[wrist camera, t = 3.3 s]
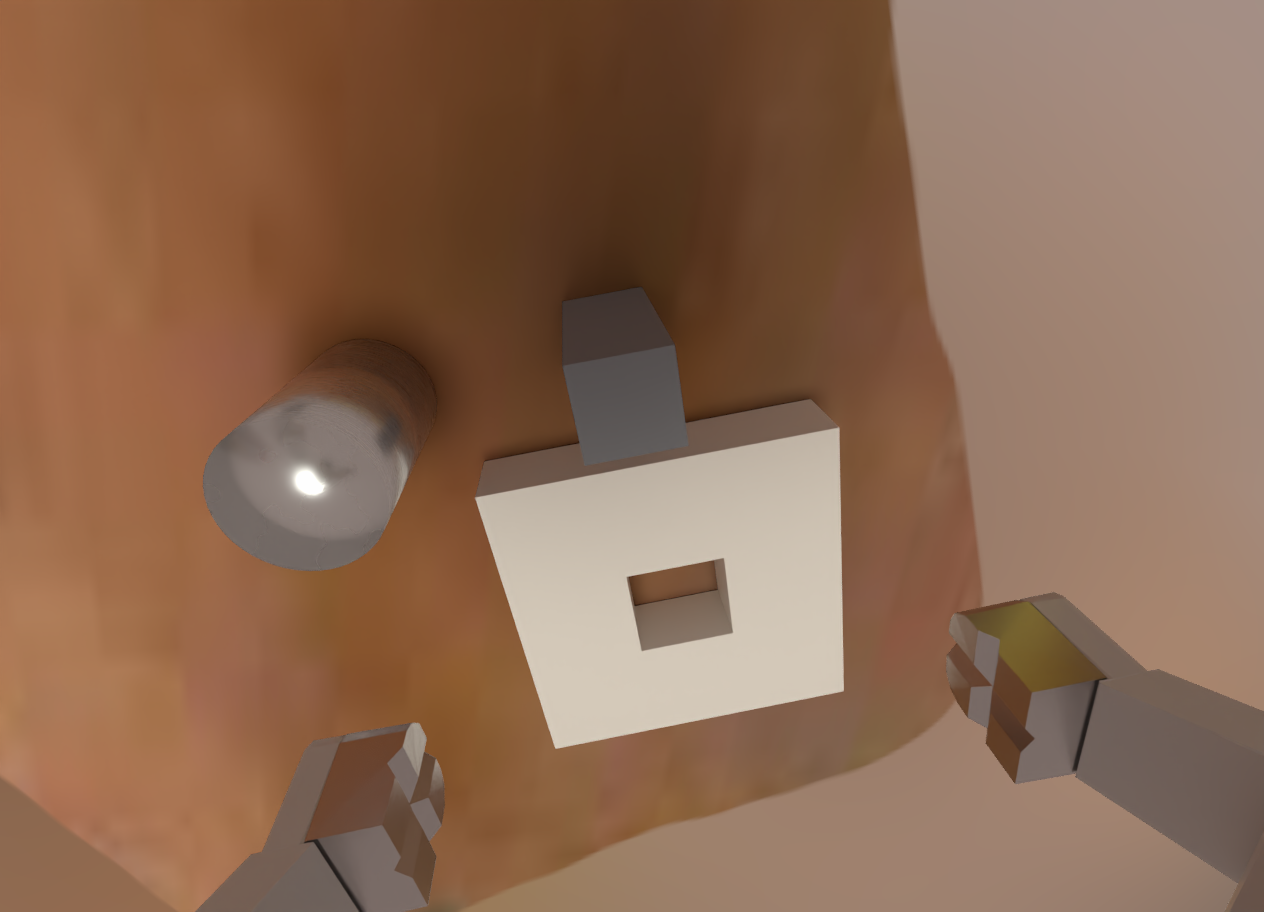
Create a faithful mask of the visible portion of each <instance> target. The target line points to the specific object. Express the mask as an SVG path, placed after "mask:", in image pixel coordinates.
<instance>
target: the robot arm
mask: <svg viewBox="0 0 1264 912" xmlns="http://www.w3.org/2000/svg"><path fill="white" fill-rule="evenodd" d="M949 634H950V635H951V636H952V637H953V639H954V640H955V641H956V642H957V643H956V644H955V646H954V647H953V648H952V649H951V650H950V652H949V653H948V654H947V665H946V672H947V676H948V680H949V684H950V688H951V691H952V693H953V695H954V697H955V699H956V701H957V703H958V704H959V705H960V707H961V709H962V710H963V712H964V713H965V715H966V716H967V717H968V718H969V719H971V720H973V721H975V722H976V723H978V724H980V725H982V726H984V727H986V728H987V735H986V744H987V746H988V747H989V748H990V750H991V751H992V752H993V754H994V755H995V757H996V758H997V760H998V761H999V762H1000V764H1001V765H1002V766H1003V768H1004V769H1005V771H1006V772H1007V773H1008V775H1009V776H1010V778H1011V779H1012V780H1013V782H1014V783H1015V784H1019V783H1024V782H1030V781H1036V780H1041V779H1047V778H1053V777H1059V776H1064V775H1070V774H1075V773H1076V776H1075V777H1076V778H1078V779H1079V780H1081V781H1082V782H1084V783H1086V784H1087V785H1088V786H1090V787H1092V788H1093V789H1095V790H1096V791H1098V792H1099V793H1101V794H1102V795H1104V796H1105V797H1107V798H1108V799H1110V800H1112V801H1113V802H1114V803H1116V804H1118V805H1119V806H1121V807H1122V808H1124V809H1125V810H1127V811H1128V812H1130V813H1132V814H1133V815H1134V816H1136V817H1137V818H1139V819H1141V820H1142V821H1143V822H1145V823H1146V824H1148V825H1150V826H1151V827H1153V828H1154V829H1156V830H1157V831H1159V832H1160V833H1162V834H1163V835H1165V836H1166V837H1168V838H1169V839H1171V840H1173V841H1174V842H1175V843H1177V844H1179V845H1180V846H1182V847H1183V848H1185V849H1186V850H1188V851H1189V852H1191V853H1192V854H1194V855H1195V856H1197V857H1199V858H1200V859H1201V860H1203V861H1204V862H1206V863H1208V864H1209V865H1211V866H1212V867H1214V868H1215V869H1217V870H1218V871H1220V872H1221V873H1223V874H1224V875H1226V876H1228V877H1229V878H1230V879H1232V880H1233V881H1235V882H1237V883H1238V885H1237V887H1236V889H1235V891H1234V893H1233V895H1232V897H1231V899H1230V901H1229V903H1228V905H1227V907H1226V910H1225V912H1264V711H1262V710H1259V709H1256V708H1254V707H1252V706H1249V705H1247V704H1244V703H1242V702H1239V701H1237V700H1234V699H1231V698H1229V697H1227V696H1224V695H1222V694H1219V693H1217V692H1214V691H1212V690H1209V689H1206V688H1204V687H1202V686H1199V685H1197V684H1194V683H1191V682H1189V681H1187V680H1184V679H1182V678H1179V677H1177V676H1174V675H1172V674H1169V673H1167V672H1164V671H1161V670H1159V669H1157V670H1151V671H1147V670H1146V669H1145V668H1144V667H1143V666H1141V665H1140V664H1139V663H1138V662H1137V661H1136V660H1135V659H1134V658H1132V657H1131V656H1130V655H1129V654H1128V653H1127V652H1126V651H1125V650H1124V649H1122V648H1121V647H1120V646H1119V645H1118V644H1117V643H1116V642H1115V641H1113V640H1112V639H1111V638H1110V637H1109V636H1108V635H1107V634H1106V633H1104V632H1103V631H1102V630H1101V629H1100V628H1099V627H1098V626H1097V625H1095V624H1094V623H1093V622H1092V621H1091V620H1090V619H1089V618H1088V617H1086V616H1085V615H1084V614H1083V613H1082V612H1081V611H1080V610H1079V609H1078V608H1076V607H1075V606H1074V605H1073V604H1072V603H1071V602H1070V601H1068V600H1067V599H1066V598H1065V597H1064V596H1062V595H1060V594H1057V593H1054V592H1053V593H1048V594H1043V595H1038V596H1034V597H1029V598H1025V599H1020V600H1014V601H1009V602H1005V603H1000V604H995V605H990V606H986V607H981V608H976V609H971V610H967V611H962V612H957V613H955V614H954V615H953V617H952V618H951V620H950V628H949ZM426 739H427V738H426V736H425V734H424V732H423V730H422V728H421V726H420V724H419V723H408V724H403V725H397V726H391V727H385V728H380V729H374V730H368V731H362V732H357V733H351V734H347V735H343V736H337V737H332V738H326V739H320V740H315V741H313V742H312V743H311V744H310V745H309V746H308V747H307V748H306V749H305V751H304V752H303V755H302V757H301V760H300V762H299V764H298V767H297V769H296V772H295V774H294V776H293V779H292V781H291V784H290V786H289V788H288V791H287V793H286V795H285V798H284V800H283V803H282V805H281V807H280V810H279V812H278V815H277V817H276V819H275V822H274V824H273V827H272V829H271V831H270V834H269V836H268V838H267V841H266V843H265V846H264V848H263V850H262V852H259V853H255V854H251V855H250V856H249V857H248V858H247V859H246V860H245V861H244V862H243V863H242V864H241V865H240V866H239V867H238V868H237V869H236V870H235V871H234V872H233V873H232V874H231V875H230V876H229V878H228V879H227V880H226V881H225V882H224V883H223V884H222V885H221V886H220V887H219V888H218V889H217V890H216V891H215V892H214V893H213V894H212V895H211V896H210V897H209V898H208V899H207V900H206V901H205V902H204V903H203V904H202V905H201V906H200V907H199V908H198V909H197V910H196V911H195V912H404V911H408V910H412V909H416V908H421V907H425V906H428V902H429V896H430V890H431V884H432V879H433V873H434V867H435V861H436V855H435V853H434V851H433V849H432V847H431V844H430V842H429V841H430V840H431V839H432V837H433V836H434V835H435V833H436V832H437V831H438V829H439V828H440V827H441V825H442V819H443V813H444V806H445V802H444V782H443V777H442V773H441V769H440V766H439V764H438V762H437V760H436V758H435V757H433V756H431V755H429V754H427V753H425V752H424V749H425V744H426Z"/></svg>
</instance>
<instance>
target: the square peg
mask: <svg viewBox="0 0 1264 912" xmlns="http://www.w3.org/2000/svg"><path fill="white" fill-rule="evenodd" d="M562 366H563V371H564V375H565V380H566V384H567V389H568V393H569V398H570V402H571V407H572V411H573V416H574V420H575V425H576V429H577V434H578V438H579V443H580V447H581V451H582V456H583V460H584V465H585V466H587V465H592V464H598V463H603V462H608V461H613V460H618V459H624V458H629V457H634V456H639V455H644V454H650V453H655V452H660V451H665V450H670V449H676V448H681V447H686V446H689V445H688V438H687V430H686V423H685V416H684V408H683V401H682V394H681V387H680V379H679V372H678V365H677V357H676V350H675V344H674V342H673V341H672V339H671V337H670V335H669V334H668V332H667V330H666V328H665V327H664V325H663V323H662V321H661V320H660V318H659V316H658V314H657V313H656V311H655V309H654V307H653V306H652V304H651V302H650V300H649V299H648V297H647V295H646V293H645V292H644V290H643V288H642V287H638V288H632V289H627V290H622V291H616V292H611V293H606V294H600V295H595V296H590V297H584V298H579V299H574V300H568V301H563V302H562Z"/></svg>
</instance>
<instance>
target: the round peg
mask: <svg viewBox="0 0 1264 912" xmlns="http://www.w3.org/2000/svg"><path fill="white" fill-rule="evenodd" d="M436 412H437V398H436V393H435V389H434V386H433V384H432V381H431V379H430V378H429V376H428V374H427V373H426V371H425V370H424V368H423V367H422V366H421V365H420V364H419V363H418V362H417V361H416V360H415V359H414V358H413V357H412V356H410V355H409V354H408V353H406V352H405V351H403V350H402V349H400V348H398V347H396V346H394V345H391V344H388V343H386V342H382V341H378V340H371V339H356V340H349V341H345V342H342V343H339V344H337V345H334V346H333V347H331V348H329V349H328V350H326V351H325V352H324V353H323V354H322V355H320V356H319V357H318V358H317V359H316V360H315V361H313V362H312V363H311V364H310V365H309V366H308V367H306V368H305V369H304V370H303V371H302V372H301V373H299V374H298V375H297V376H296V377H295V378H294V379H292V380H291V381H290V382H289V383H288V384H287V385H285V386H284V387H283V388H282V389H281V390H280V391H278V392H277V393H276V394H275V395H274V396H273V397H271V398H270V399H269V400H268V401H267V402H266V403H264V404H263V405H262V406H261V407H260V408H259V409H257V410H256V411H255V412H254V413H253V414H252V415H250V416H249V417H248V418H247V419H246V420H245V421H244V422H242V423H241V424H240V425H239V426H238V427H237V428H235V429H234V430H233V431H232V432H231V433H230V434H228V435H227V436H226V437H225V438H224V439H223V440H221V441H220V443H219V444H218V445H217V446H216V447H215V448H214V450H213V451H212V453H211V455H210V456H209V458H208V461H207V463H206V466H205V470H204V475H203V489H204V496H205V500H206V503H207V506H208V509H209V511H210V513H211V515H212V517H213V519H214V520H215V522H216V523H217V525H218V526H219V527H220V529H221V530H222V531H223V532H224V533H225V535H226V536H227V537H229V538H230V539H231V540H232V541H233V542H234V543H235V544H236V545H238V546H239V547H240V548H242V549H243V550H244V551H246V552H248V553H249V554H251V555H252V556H254V557H257V558H259V559H261V560H263V561H265V562H268V563H270V564H273V565H276V566H280V567H283V568H288V569H294V570H303V571H320V570H327V569H333V568H337V567H341V566H343V565H346V564H349V563H351V562H353V561H355V560H357V559H359V558H360V557H362V556H363V555H364V554H366V553H367V552H368V551H369V550H370V549H371V548H372V547H373V546H374V545H375V544H376V543H377V541H378V540H379V539H380V537H381V535H382V533H383V531H384V529H385V527H386V525H387V523H388V521H389V518H390V516H391V514H392V512H393V510H394V508H395V506H396V503H397V501H398V499H399V497H400V495H401V493H402V491H403V488H404V486H405V484H406V482H407V480H408V478H409V476H410V473H411V471H412V469H413V467H414V465H415V463H416V461H417V458H418V456H419V454H420V452H421V450H422V448H423V445H424V443H425V441H426V439H427V437H428V435H429V433H430V430H431V428H432V426H433V424H434V421H435V418H436Z"/></svg>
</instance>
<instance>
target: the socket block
mask: <svg viewBox="0 0 1264 912" xmlns="http://www.w3.org/2000/svg"><path fill="white" fill-rule="evenodd" d="M686 430H687V438H688V445H689V446H686V447H681V448H676V449H670V450H665V451H660V452H655V453H650V454H644V455H639V456H634V457H629V458H624V459H618V460H613V461H608V462H603V463H598V464H592V465H587V466H585V465H584V460H583V456H582V451H581V447H580V443H578V444H573V445H568V446H562V447H557V448H552V449H547V450H541V451H536V452H531V453H526V454H521V455H515V456H510V457H505V458H500V459H495V460H489V461H484V464H483V468H482V472H481V476H480V480H479V484H478V488H477V492H476V496H475V499H476V502H477V505H478V508H479V511H480V514H481V518H482V521H483V524H484V527H485V530H486V533H487V536H488V539H489V543H490V546H491V549H492V552H493V555H494V558H495V561H496V564H497V568H498V571H499V574H500V577H501V580H502V583H503V586H504V589H505V593H506V596H507V599H508V602H509V605H510V608H511V611H512V614H513V618H514V621H515V624H516V627H517V630H518V633H519V636H520V639H521V643H522V646H523V649H524V652H525V655H526V658H527V661H528V664H529V668H530V671H531V674H532V677H533V680H534V683H535V686H536V689H537V693H538V696H539V699H540V702H541V705H542V708H543V711H544V714H545V718H546V721H547V724H548V727H549V730H550V733H551V736H552V739H553V742H554V746H555V749H557V748H562V747H567V746H572V745H577V744H582V743H587V742H592V741H597V740H602V739H607V738H612V737H617V736H622V735H627V734H632V733H637V732H642V731H647V730H652V729H657V728H662V727H667V726H672V725H677V724H682V723H687V722H692V721H697V720H702V719H707V718H712V717H717V716H722V715H727V714H732V713H737V712H742V711H747V710H752V709H757V708H762V707H767V706H772V705H777V704H782V703H787V702H792V701H797V700H802V699H807V698H812V697H817V696H822V695H827V694H832V693H837V692H842V691H844V682H843V623H842V563H841V504H840V444H839V427H838V426H837V425H836V424H835V423H834V422H833V421H832V420H831V419H830V418H829V417H828V416H827V415H826V414H825V413H824V412H823V411H822V410H821V409H820V408H819V407H818V406H817V405H816V404H815V403H814V402H813V401H812V400H811V399H808V400H802V401H797V402H792V403H787V404H782V405H776V406H771V407H766V408H761V409H755V410H750V411H745V412H740V413H735V414H729V415H724V416H719V417H714V418H708V419H703V420H698V421H693V422H688V423H686ZM711 560H714V564H715V572H716V580H717V588H718V590H714V591H709V592H704V593H699V594H694V595H689V596H684V597H678V598H673V599H668V600H663V601H658V602H653V603H648V604H643V605H638V606H634V601H633V596H632V591H631V586H630V582H629V576H634V575H639V574H644V573H649V572H655V571H660V570H665V569H670V568H675V567H680V566H685V565H690V564H695V563H701V562H706V561H711Z"/></svg>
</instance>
